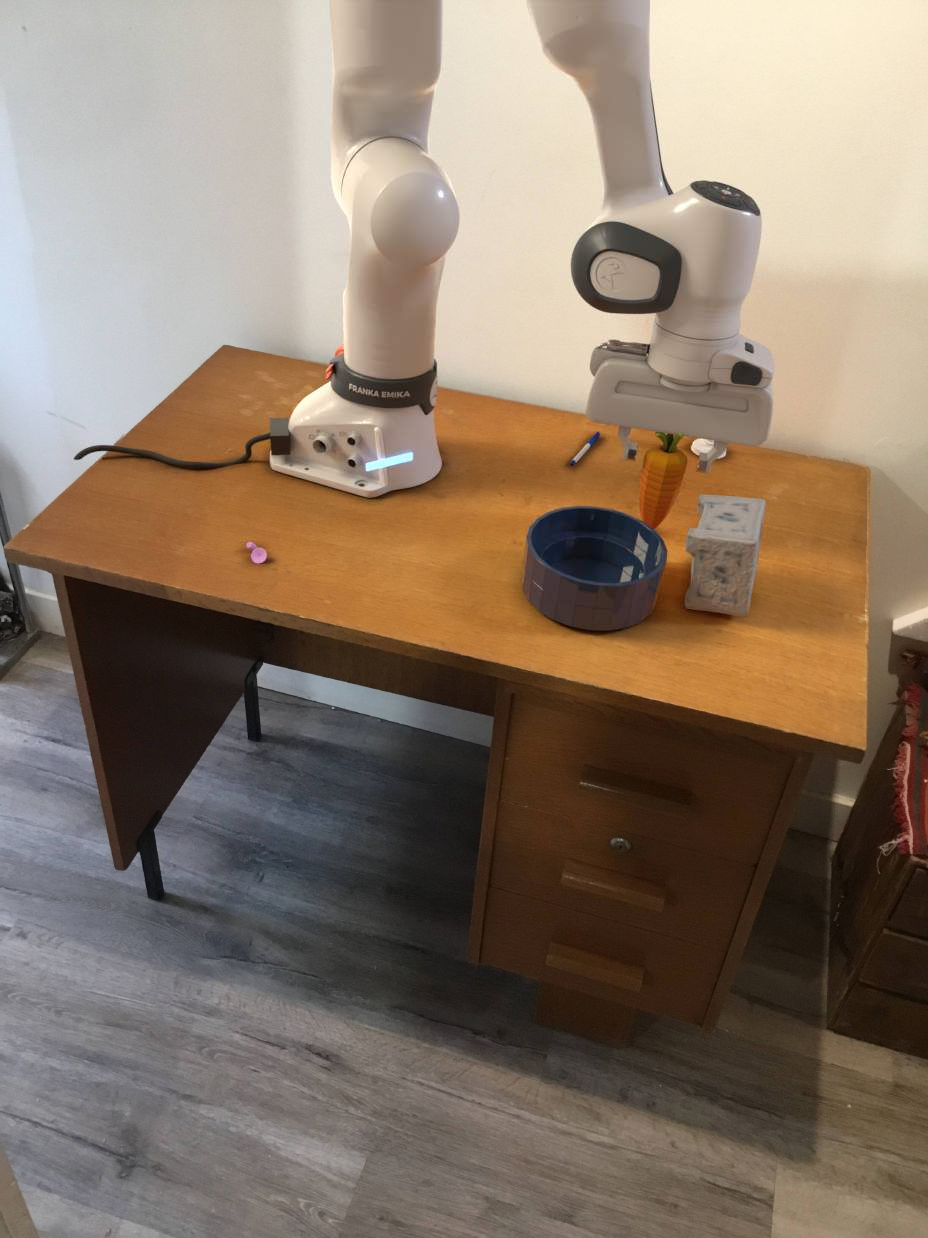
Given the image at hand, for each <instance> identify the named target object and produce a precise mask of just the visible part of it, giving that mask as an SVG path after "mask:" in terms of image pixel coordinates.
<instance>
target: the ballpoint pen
mask: <svg viewBox="0 0 928 1238" xmlns="http://www.w3.org/2000/svg"><path fill="white" fill-rule="evenodd" d="M600 436H601V433H600V431H596V433H594V434H593V435H592V437H590V439H589V440H588V441H586V444H585V445H584V446H583V447H582V449H581V450H580V451H579V452H578V453H577V454H576V455H575V456H574V457H573V459H572V460H571V461H570V464H569V465H570V467H573V466H574V465H576V463H578V461H579V460H580V459H581V458H582V457H583V456H584V455H585V454H586V452H587V451H588V450H589V449H590V448H592V446H593V445H594V444H595V443H596V441H597V440H598V439H599V438H600Z"/></svg>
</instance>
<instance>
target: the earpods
mask: <svg viewBox="0 0 928 1238" xmlns="http://www.w3.org/2000/svg"><path fill="white" fill-rule="evenodd" d="M246 548H247V549H248V550H249V551H251V553H250V558H251V560H252V562H253V563H254V564H262V563H264V562H265V561H266V559H267V556H268V553H267V551H266V550H265V549H264V548H263V547H257V545H256V544H255V543H253V542H252V541H249V542H247V543H246Z"/></svg>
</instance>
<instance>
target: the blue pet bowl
mask: <svg viewBox="0 0 928 1238" xmlns="http://www.w3.org/2000/svg"><path fill="white" fill-rule="evenodd" d="M667 561H668V548H667V546H666V543H665V540H664V539H663V538H662V537H661V535H660V534H659V533H658V532H657V530H656V529H655V530H654V529H653V528H651V527H650V526H649V525H647V524H646V523H645V522H643V520H642V519H639V518H637V517H635V516H633V515H631V514H628V513H625V512H622V511H620V510H616V509H613V508H608V507H601V506H593V505H573V506H565V507H560V508H556V509H553V510H550V511H547V512H544V513H543V514H542V515H539V516H538V517H537V518H535V519H534V521H532V522H531V524H530V526H528V529H527V533H526V536H525V544H524V552H523V559H522V567H521V576H520V585H521V590H522V593H523V594H524V597H525V598H526V601H528V603H530V604H531V606H533V607H534V608H535V609H536V610H537V611H538V612H540V613H541V614H542V615H544V616H546V617H548V618H549V619H551V620H553V621H555V622H558V623H561V624H563V625H566V626H567V627H572V628H577V629H582V630H588V631H608V632H609V631H614V630H615V631H616V630H620V629H626V628H629V627H632V626H633V625H637V624H639V623H641V622H642V621H643V620H645V619H646V618H647V617H649V616H650V615H651V614H652V612H653V610H654V609H655V607H656V605H657V602H658V597H659V593H660V589H661V586H662V581H663V577H664V574H665V569H666V565H667Z"/></svg>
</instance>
